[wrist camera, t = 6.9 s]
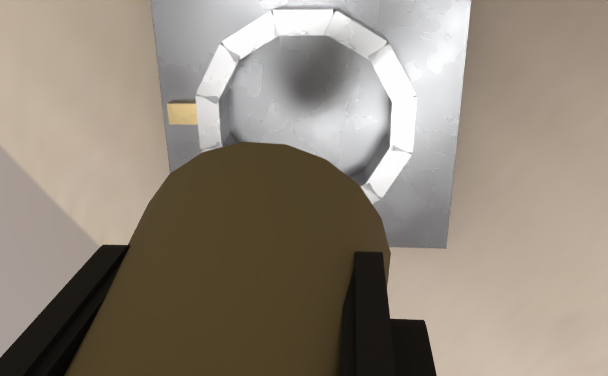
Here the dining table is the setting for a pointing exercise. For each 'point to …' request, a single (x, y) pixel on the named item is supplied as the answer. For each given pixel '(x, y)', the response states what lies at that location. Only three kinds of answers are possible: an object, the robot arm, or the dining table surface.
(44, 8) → the dining table surface
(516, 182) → the dining table surface
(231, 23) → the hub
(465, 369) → the dining table surface
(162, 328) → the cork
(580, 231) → the dining table surface
